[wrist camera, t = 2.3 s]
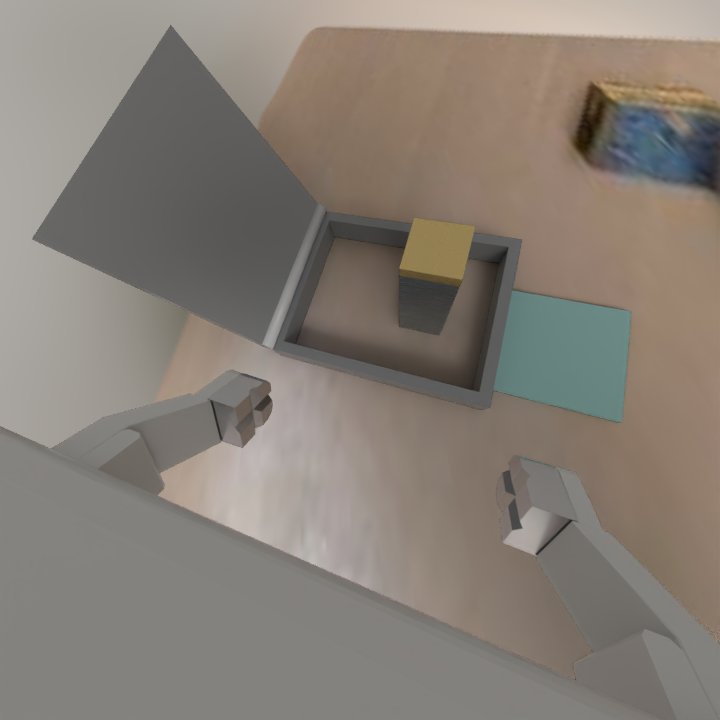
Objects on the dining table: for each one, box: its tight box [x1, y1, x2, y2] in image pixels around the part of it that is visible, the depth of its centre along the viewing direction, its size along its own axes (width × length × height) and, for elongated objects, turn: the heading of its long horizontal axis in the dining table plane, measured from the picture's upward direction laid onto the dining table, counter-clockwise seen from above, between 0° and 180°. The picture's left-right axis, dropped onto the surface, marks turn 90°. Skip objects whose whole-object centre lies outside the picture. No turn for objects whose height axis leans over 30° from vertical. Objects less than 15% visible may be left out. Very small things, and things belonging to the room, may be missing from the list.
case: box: [33, 25, 522, 410], centre depth 20 cm, size 27×16×16 cm, turn 73°
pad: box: [493, 290, 631, 423], centre depth 24 cm, size 10×10×1 cm
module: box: [399, 218, 475, 335], centre depth 22 cm, size 4×4×10 cm
